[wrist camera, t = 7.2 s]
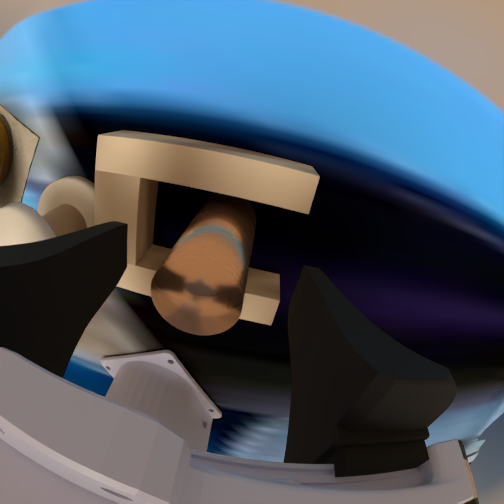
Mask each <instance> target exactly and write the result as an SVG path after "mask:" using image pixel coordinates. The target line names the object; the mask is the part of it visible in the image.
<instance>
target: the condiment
mask: <svg viewBox="0 0 504 504" xmlns="http://www.w3.org/2000/svg"><path fill="white" fill-rule="evenodd" d="M38 139H39V138H38V137H37V136H36V135H35V134H33V133H32V132H31V131H30V130H29V129H27V128H26V127H24V126H23V125H22V124H21V123H20V122H19V121H17V120H16V119H15V118H14V117H13V116H12V115H11V114H10V113H9V112H8V111H7V110H6V109H4V108H3V107H2V106H1V105H0V208H2V207H4V206H6V205H8V204H10V203H14V202H20V203H21V198H22V196H23V191H24V187H25V183H26V179H27V178H28V172H29V168H30V164H31V161H32V159H33V156H34V151H35V148H36V145H37V142H38ZM14 146H16V149H14ZM16 150H17V155H16Z"/></svg>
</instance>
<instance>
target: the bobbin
mask: <svg viewBox="0 0 504 504" xmlns="http://www.w3.org/2000/svg"><path fill="white" fill-rule="evenodd" d="M94 188H95V184H94V183H93V182H91V181H90V180H88V179H86V178H84V177H81V176H67V177H64V178H62V179H59V180H57V181H55V182H53V183H51V184H50V185H48V186H47V187H46V189H45V190H44V191H43V193H42V195H41V197H40V200H39V204H38V212H37V211H35V210H34V209H33V208H31V207H30V206H28V205H26V204H23V203H20V202H14V203H10V204H8V205H6V206H4V207H2V208H1V209H0V246H8V245H16V244H24V243H31V242H36V241H41V240H46V239H50V238H54V237H58V236H61V235H65V234H68V233H72V232H75V231H79V230H82V229H85V228H88V227H92V226H94Z"/></svg>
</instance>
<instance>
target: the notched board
mask: <svg viewBox="0 0 504 504" xmlns="http://www.w3.org/2000/svg"><path fill="white" fill-rule="evenodd" d="M319 178H320V176H319V175H318V173H317V172H316V171H315V170H314V168H313V167H312V166H309V165H306V164H302V163H298V162H294V161H291V160H287V159H283V158H279V157H275V156H271V155H267V154H262V153H258V152H254V151H249V150H245V149H240V148H235V147H230V146H225V145H220V144H215V143H210V142H204V141H198V140H193V139H187V138H180V137H174V136H167V135H160V134H152V133H144V132H136V131H126V130H122V131H116V132H111V133H105V134H100V135H98V141H97V152H96V166H95V188H94V226H95V225H99V224H102V223H106V222H111V221H117V222H122V223H126V224H128V234H127V268H126V270H125V272H124V274H123V276H122V277H121V279H120V281H119V283H118V284H117V287H121V288H124V289H127V290H131V291H134V292H137V293H141V294H144V295H148V296H151V282H152V279H153V277H154V275H155V273H156V272H157V270H158V269H159V267H160V266H161V264H162V263H163V261H164V260H165V258H166V257H167V255H168V254H169V253H170V251H171V250H172V249H169V248H165V247H161V246H157V245H153V235H154V222H155V211H156V200H157V191H158V182H159V181H162V182H167V183H173V184H178V185H183V186H188V187H193V188H198V189H202V190H207V191H212V192H217V193H221V194H226V195H230V196H235V197H239V198H243V199H248V200H252V201H256V202H261V203H265V204H269V205H273V206H277V207H281V208H285V209H289V210H293V211H297V212H301V213H305V214H309V211H310V208H311V204H312V201H313V198H314V195H315V191H316V188H317V185H318V181H319ZM279 302H280V274H276V273H272V272H267V271H263V270H258V269H254V268H250V267H249V271H248V277H247V283H246V289H245V295H244V301H243V307H242V312H241V315H240V317H239V319H244V320H248V321H253V322H258V323H262V324H267V325H271V324H272V322H273V319H274V316H275V313H276V310H277V308H278V305H279Z"/></svg>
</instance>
